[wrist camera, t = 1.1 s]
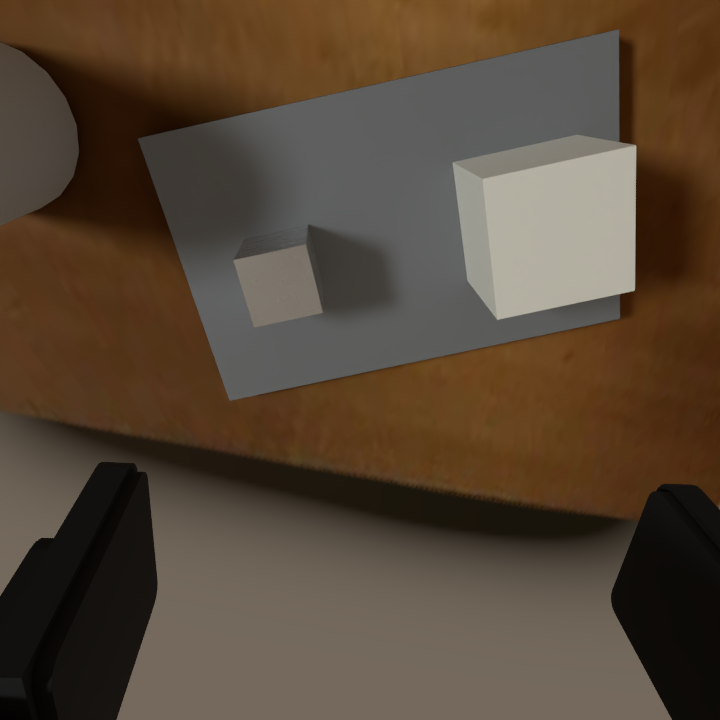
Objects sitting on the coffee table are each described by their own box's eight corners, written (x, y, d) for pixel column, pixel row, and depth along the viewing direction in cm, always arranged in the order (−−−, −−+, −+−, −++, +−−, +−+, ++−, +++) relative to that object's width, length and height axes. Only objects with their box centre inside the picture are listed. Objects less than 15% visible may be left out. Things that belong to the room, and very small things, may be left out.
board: (603, 32, 27) (618, 29, 25) (607, 309, 33) (620, 318, 31) (146, 136, 27) (137, 138, 26) (233, 387, 33) (229, 400, 32)
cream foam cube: (577, 134, 27) (636, 145, 22) (581, 256, 30) (635, 290, 25) (452, 162, 27) (482, 179, 22) (467, 280, 30) (497, 319, 25)
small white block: (307, 224, 28) (305, 244, 24) (322, 285, 29) (323, 312, 26) (244, 238, 28) (233, 260, 25) (262, 298, 30) (254, 327, 26)
